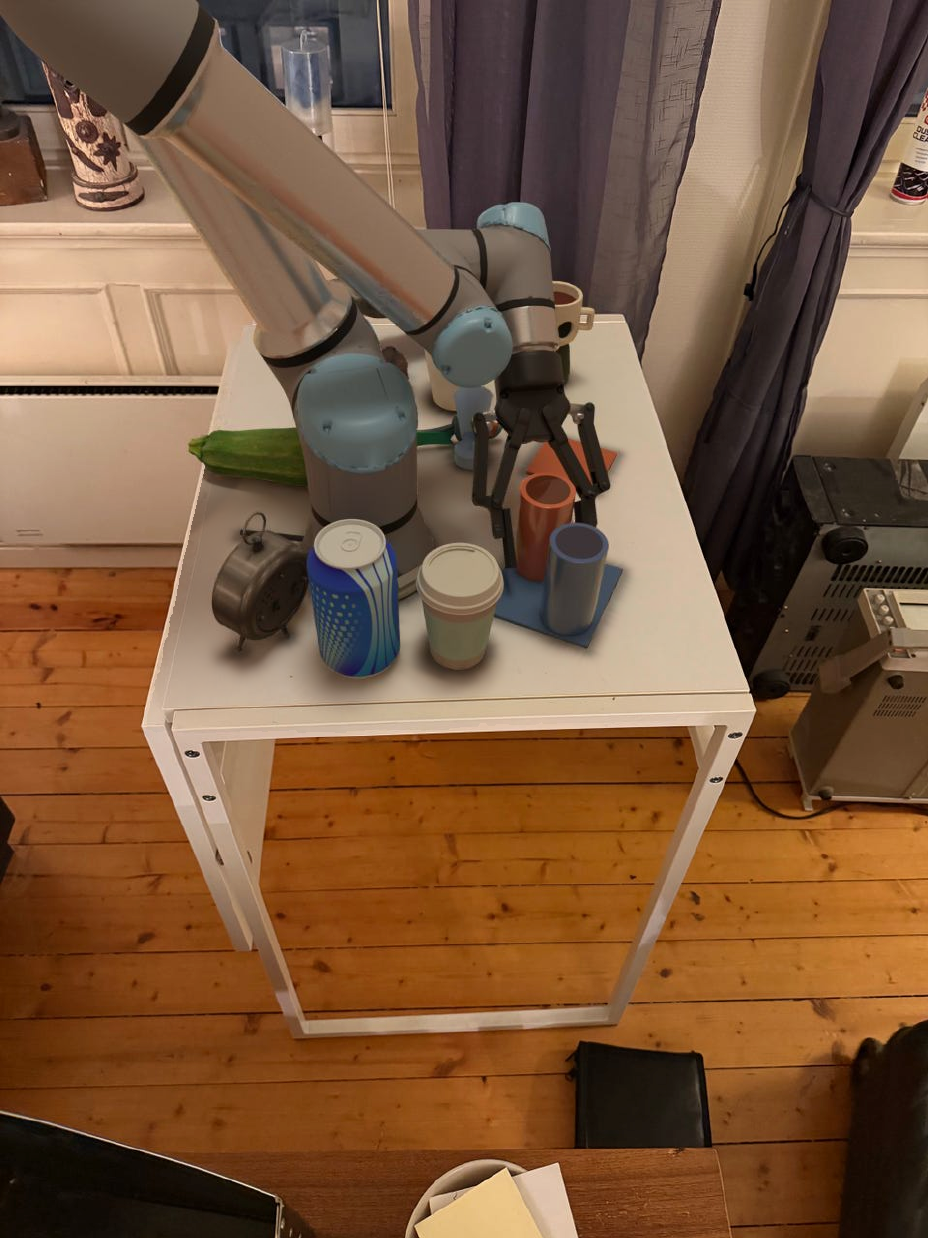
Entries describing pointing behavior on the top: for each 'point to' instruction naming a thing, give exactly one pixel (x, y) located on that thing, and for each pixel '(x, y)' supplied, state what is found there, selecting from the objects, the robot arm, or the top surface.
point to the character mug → (569, 319)
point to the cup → (441, 386)
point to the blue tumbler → (573, 578)
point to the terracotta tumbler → (540, 519)
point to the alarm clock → (260, 585)
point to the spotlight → (467, 407)
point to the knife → (448, 433)
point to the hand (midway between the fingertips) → (548, 563)
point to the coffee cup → (459, 602)
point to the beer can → (355, 598)
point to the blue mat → (525, 600)
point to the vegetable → (253, 454)
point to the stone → (396, 359)
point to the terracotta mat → (551, 463)
